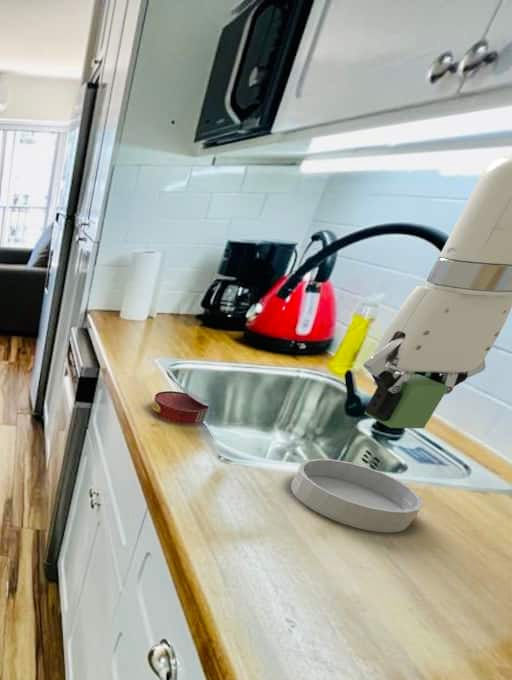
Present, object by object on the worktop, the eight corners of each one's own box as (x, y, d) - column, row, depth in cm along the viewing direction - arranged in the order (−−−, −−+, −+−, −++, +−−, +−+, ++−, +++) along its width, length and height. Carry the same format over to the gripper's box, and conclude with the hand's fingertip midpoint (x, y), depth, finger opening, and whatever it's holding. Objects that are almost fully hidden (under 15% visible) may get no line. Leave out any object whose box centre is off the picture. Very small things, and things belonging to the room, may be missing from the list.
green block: (395, 414, 67) (418, 374, 64) (423, 428, 64) (449, 386, 61) (364, 413, 68) (385, 373, 65) (390, 427, 64) (413, 385, 61)
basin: (358, 478, 78) (368, 460, 76) (437, 534, 66) (452, 514, 64) (271, 475, 78) (279, 457, 76) (333, 530, 66) (345, 510, 64)
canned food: (154, 422, 105) (170, 378, 104) (205, 434, 98) (222, 387, 97) (139, 413, 96) (155, 365, 95) (193, 425, 90) (211, 373, 89)
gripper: (513, 272, 59) (433, 407, 68) (374, 270, 60) (313, 404, 69) (585, 284, 53) (486, 431, 62) (429, 282, 53) (353, 428, 62)
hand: (395, 415), depth 65 cm, fingers closed on green block, 4 cm apart
